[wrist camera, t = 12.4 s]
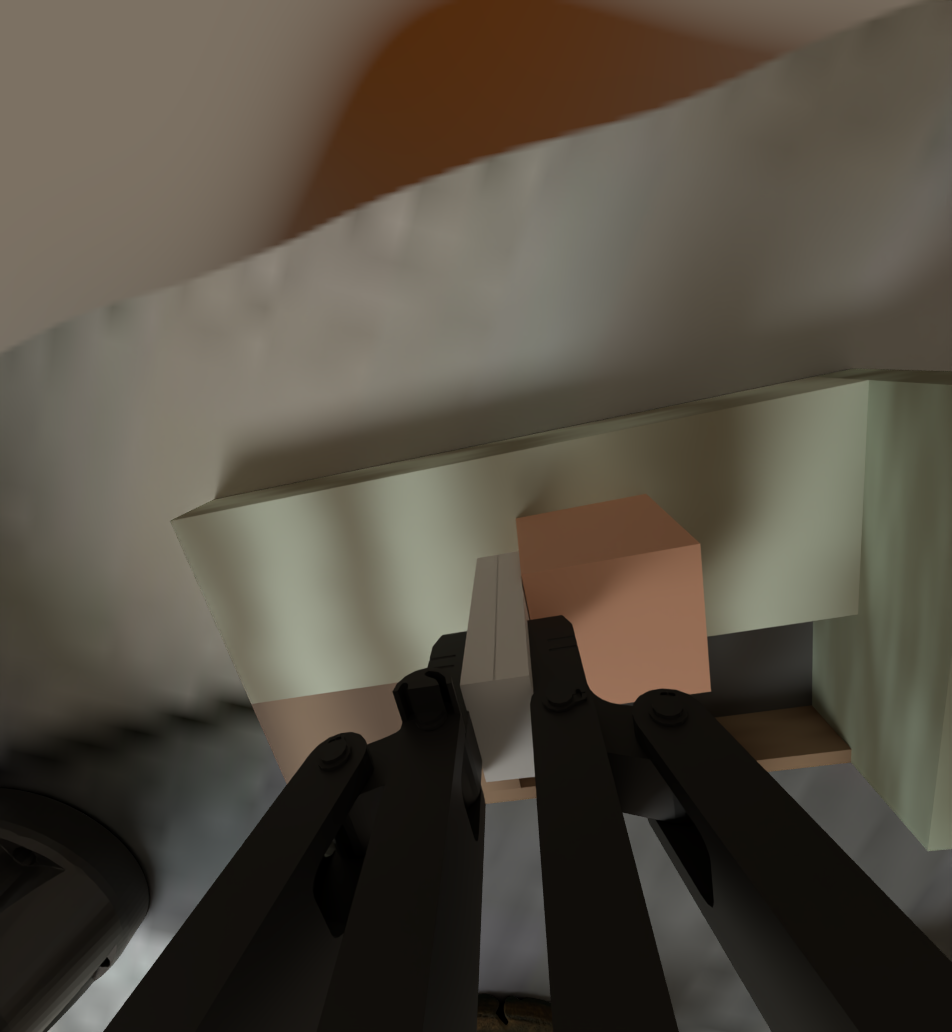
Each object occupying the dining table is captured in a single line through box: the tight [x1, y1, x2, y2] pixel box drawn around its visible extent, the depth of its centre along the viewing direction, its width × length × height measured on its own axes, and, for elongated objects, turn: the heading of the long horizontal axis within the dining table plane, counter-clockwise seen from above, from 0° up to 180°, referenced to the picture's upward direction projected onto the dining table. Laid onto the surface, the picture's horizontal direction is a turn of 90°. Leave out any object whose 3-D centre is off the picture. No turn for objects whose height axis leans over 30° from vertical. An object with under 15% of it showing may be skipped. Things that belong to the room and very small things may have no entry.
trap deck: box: [170, 369, 952, 851], centre depth 19 cm, size 28×17×7 cm, turn 102°
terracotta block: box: [516, 494, 711, 704], centre depth 16 cm, size 5×5×5 cm
